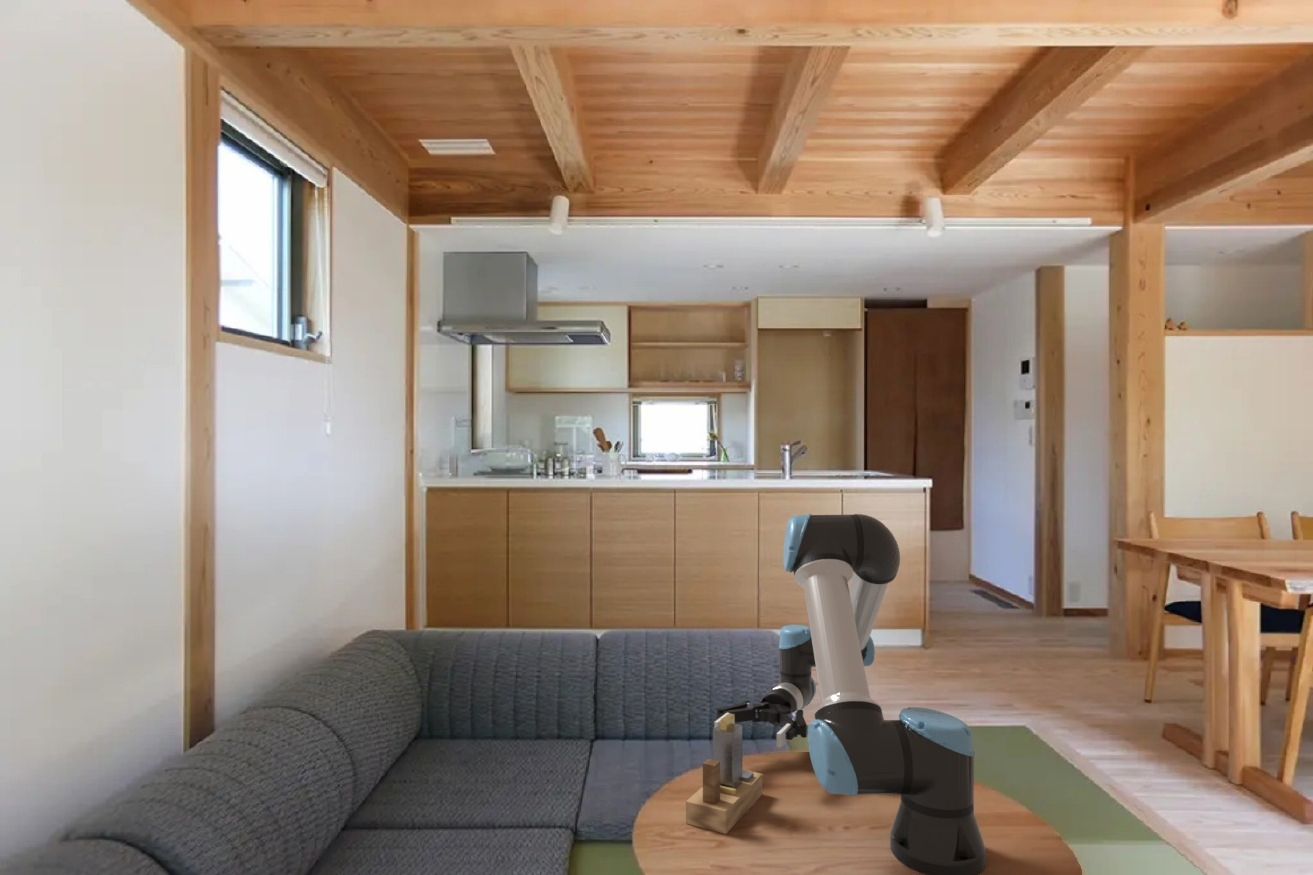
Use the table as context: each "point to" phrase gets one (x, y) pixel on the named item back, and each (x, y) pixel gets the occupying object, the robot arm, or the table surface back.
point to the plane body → (721, 799)
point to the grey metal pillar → (728, 751)
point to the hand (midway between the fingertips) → (746, 734)
